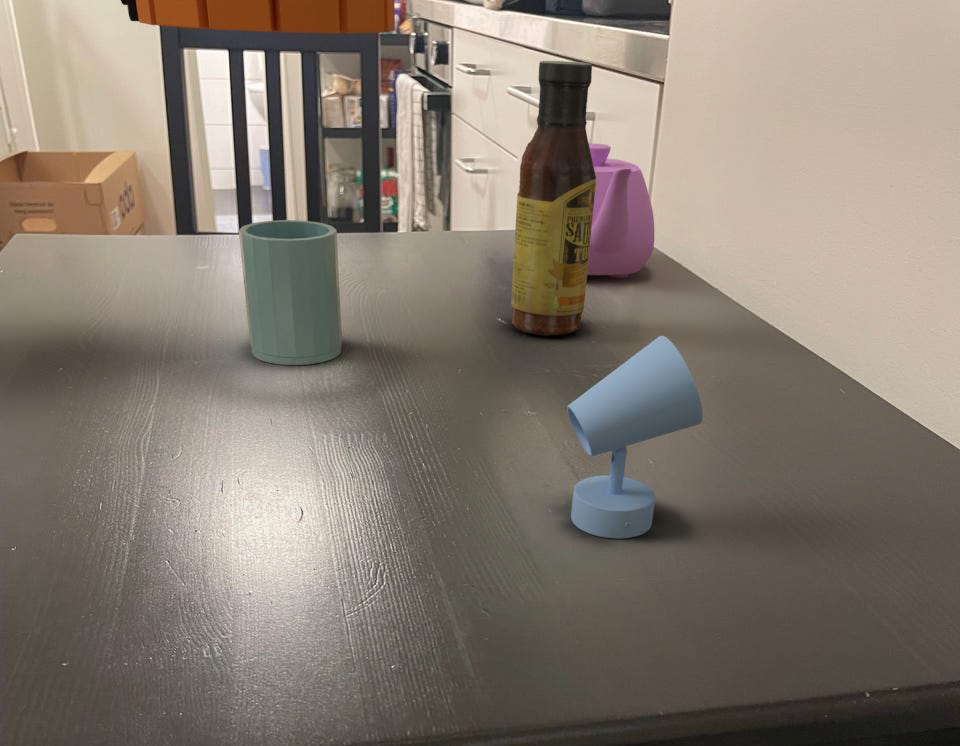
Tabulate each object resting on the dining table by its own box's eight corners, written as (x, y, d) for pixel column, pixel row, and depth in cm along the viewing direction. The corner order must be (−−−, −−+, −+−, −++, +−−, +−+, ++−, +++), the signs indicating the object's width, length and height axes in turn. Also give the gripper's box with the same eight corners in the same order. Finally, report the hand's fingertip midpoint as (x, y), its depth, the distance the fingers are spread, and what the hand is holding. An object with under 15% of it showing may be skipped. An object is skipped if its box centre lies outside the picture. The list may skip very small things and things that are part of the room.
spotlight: (658, 494, 57) (546, 504, 55) (684, 322, 51) (560, 327, 49) (694, 533, 53) (574, 544, 51) (726, 351, 47) (593, 357, 46)
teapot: (507, 249, 108) (512, 131, 101) (621, 249, 110) (634, 133, 104) (548, 297, 92) (557, 161, 85) (681, 296, 94) (700, 162, 87)
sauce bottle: (570, 343, 80) (594, 66, 69) (499, 333, 82) (511, 61, 71) (590, 323, 85) (615, 61, 74) (523, 313, 87) (538, 57, 76)
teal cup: (242, 363, 73) (229, 237, 68) (262, 335, 79) (251, 218, 74) (334, 367, 73) (327, 241, 68) (347, 339, 79) (342, 222, 74)
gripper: (-74, -427, 48) (14, 17, 58) (252, -415, 47) (282, 29, 58) (-5, -379, 54) (64, 15, 64) (284, -368, 54) (305, 25, 64)
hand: (167, 18), depth 61 cm, fingers closed on ring, 2 cm apart
